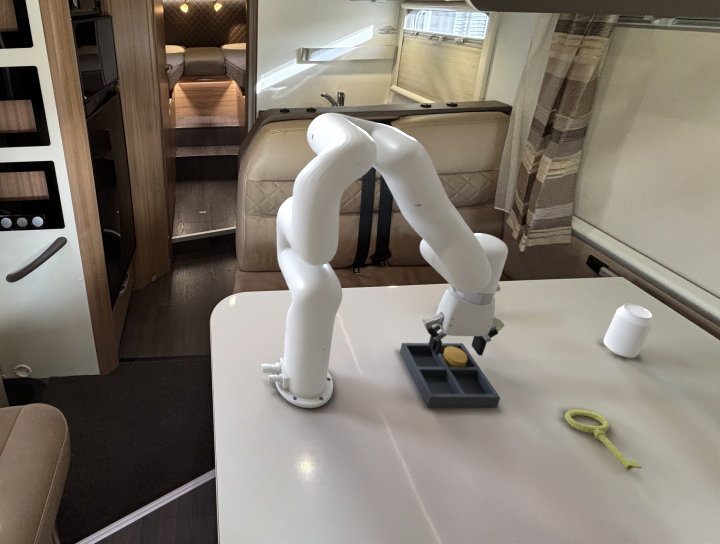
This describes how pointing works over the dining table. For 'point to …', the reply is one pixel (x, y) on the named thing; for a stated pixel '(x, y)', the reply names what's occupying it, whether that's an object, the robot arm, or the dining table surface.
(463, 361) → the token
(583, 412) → the key
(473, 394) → the grid
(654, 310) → the dining table surface
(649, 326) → the beverage can
